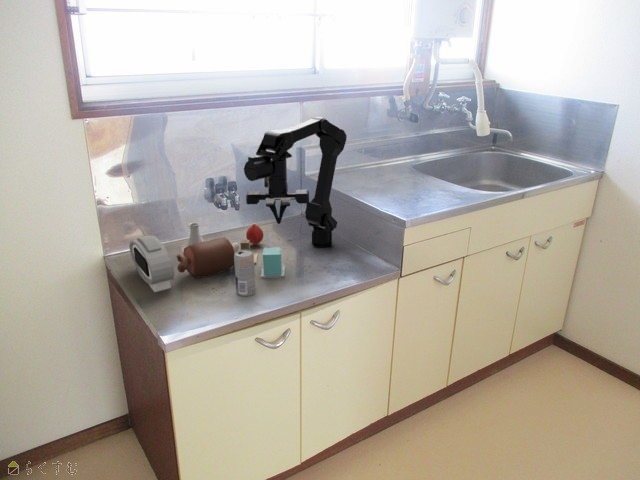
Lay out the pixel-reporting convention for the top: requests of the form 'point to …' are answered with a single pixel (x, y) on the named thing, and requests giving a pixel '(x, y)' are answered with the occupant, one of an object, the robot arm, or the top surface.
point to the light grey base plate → (273, 275)
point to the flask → (194, 234)
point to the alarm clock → (152, 262)
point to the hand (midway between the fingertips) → (278, 223)
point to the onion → (254, 234)
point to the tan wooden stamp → (248, 248)
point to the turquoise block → (272, 261)
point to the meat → (207, 257)
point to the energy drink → (244, 272)
